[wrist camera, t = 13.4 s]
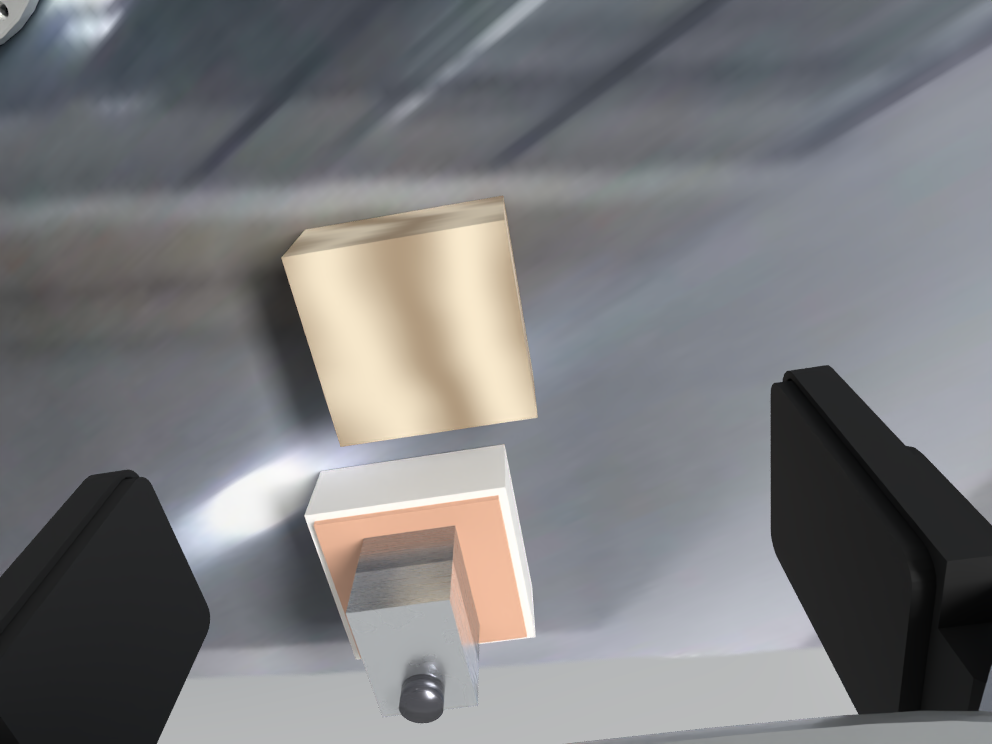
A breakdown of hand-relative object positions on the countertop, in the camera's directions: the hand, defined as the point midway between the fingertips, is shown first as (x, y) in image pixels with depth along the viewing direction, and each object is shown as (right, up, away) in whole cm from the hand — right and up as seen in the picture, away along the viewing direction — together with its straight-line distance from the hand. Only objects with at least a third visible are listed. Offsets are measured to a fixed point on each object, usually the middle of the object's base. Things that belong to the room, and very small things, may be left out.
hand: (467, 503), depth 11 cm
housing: (-4, -11, +34) cm, 36 cm away
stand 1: (-4, +6, +31) cm, 32 cm away
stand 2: (-4, -9, +38) cm, 39 cm away
